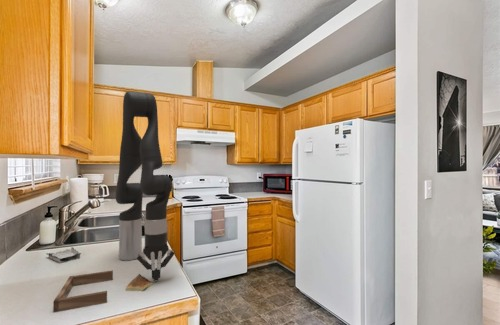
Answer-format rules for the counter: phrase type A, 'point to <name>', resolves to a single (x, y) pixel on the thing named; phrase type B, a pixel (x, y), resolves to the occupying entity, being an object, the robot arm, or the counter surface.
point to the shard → (138, 284)
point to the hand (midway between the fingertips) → (155, 279)
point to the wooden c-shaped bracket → (81, 300)
